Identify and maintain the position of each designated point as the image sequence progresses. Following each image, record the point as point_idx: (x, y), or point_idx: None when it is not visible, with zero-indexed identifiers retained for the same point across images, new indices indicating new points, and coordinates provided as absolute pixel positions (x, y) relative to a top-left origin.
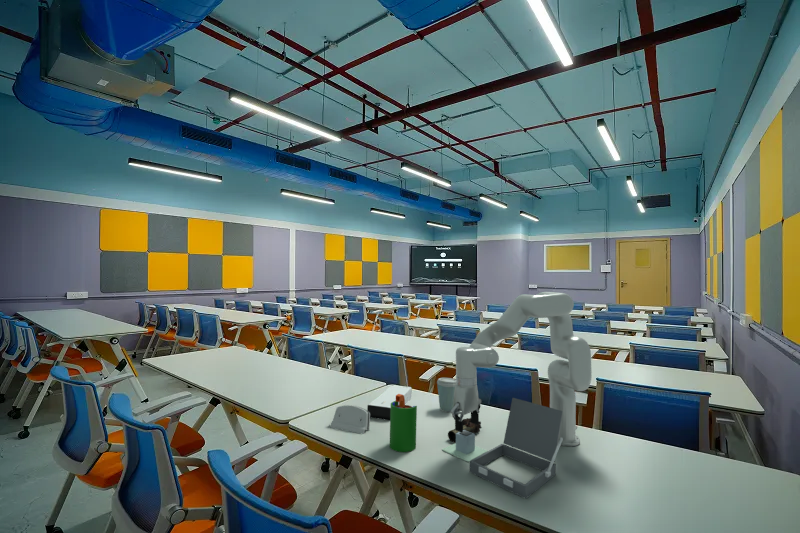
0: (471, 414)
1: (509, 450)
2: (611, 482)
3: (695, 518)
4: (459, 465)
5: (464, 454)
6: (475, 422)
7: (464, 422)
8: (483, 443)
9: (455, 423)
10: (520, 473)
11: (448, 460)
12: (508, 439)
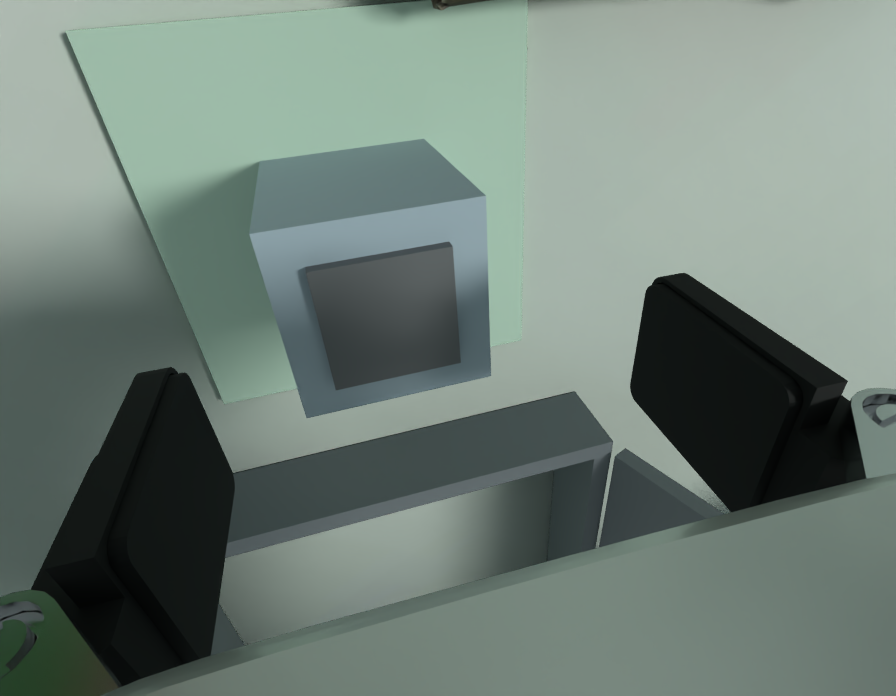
0: (755, 383)
1: (577, 484)
2: None
3: None
4: (103, 402)
5: None
6: (648, 377)
7: None
8: (637, 197)
9: (102, 474)
10: (435, 574)
11: (28, 286)
12: (647, 508)
